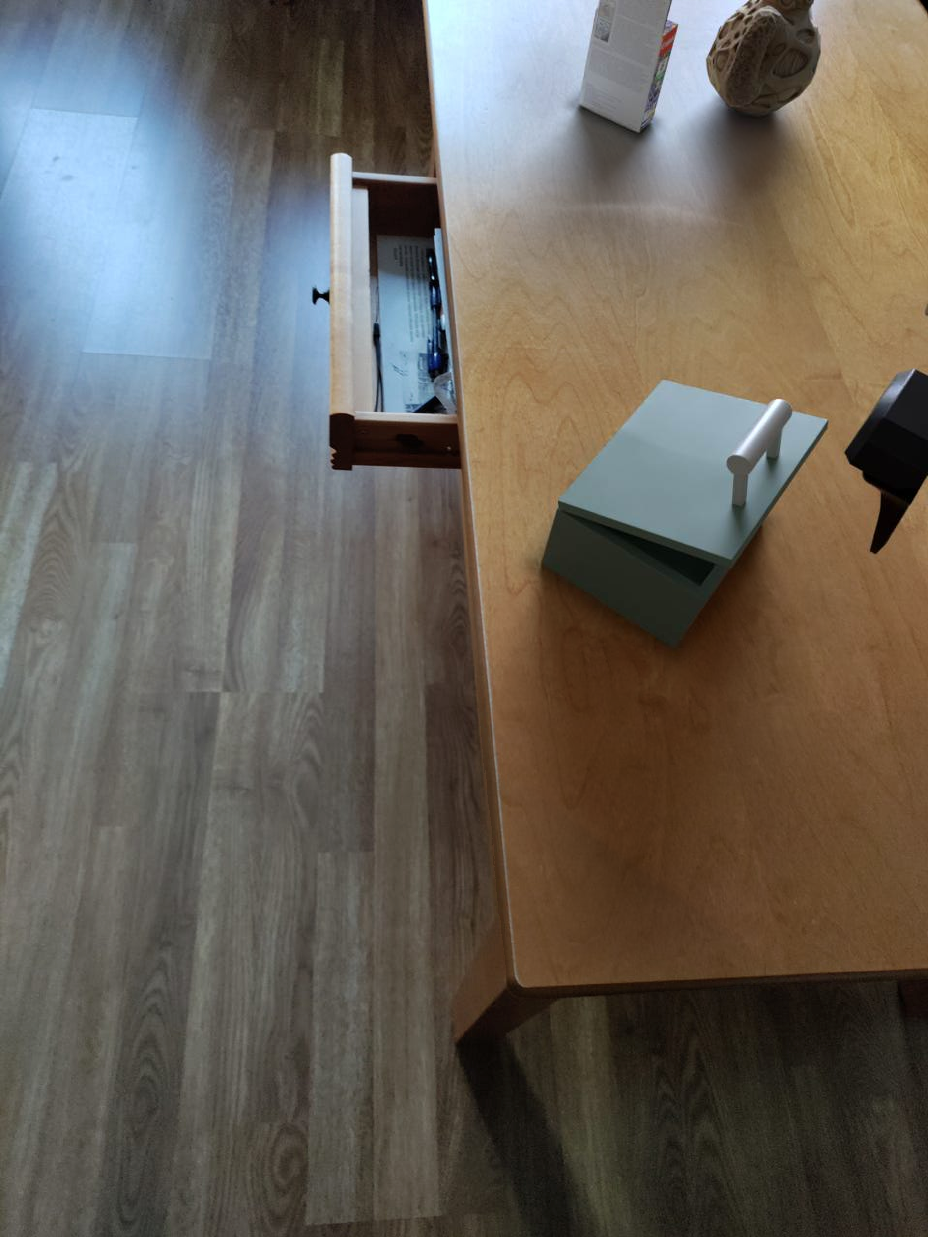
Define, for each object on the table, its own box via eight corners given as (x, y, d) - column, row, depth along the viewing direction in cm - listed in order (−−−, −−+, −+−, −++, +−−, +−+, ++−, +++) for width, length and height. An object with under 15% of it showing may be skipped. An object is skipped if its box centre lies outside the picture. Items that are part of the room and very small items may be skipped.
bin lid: (827, 428, 58) (837, 367, 55) (731, 569, 52) (735, 509, 48) (662, 388, 65) (662, 330, 61) (558, 509, 58) (550, 452, 55)
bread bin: (762, 521, 68) (798, 465, 62) (674, 649, 61) (705, 601, 56) (637, 447, 71) (661, 388, 65) (540, 563, 64) (556, 508, 58)
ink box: (592, 91, 96) (624, -63, 83) (654, 120, 94) (696, -33, 81) (575, 105, 94) (605, -49, 82) (637, 135, 92) (678, -19, 80)
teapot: (723, 48, 103) (773, -105, 90) (816, 79, 101) (880, -72, 88) (666, 138, 93) (712, -20, 80) (767, 174, 91) (832, 18, 78)
